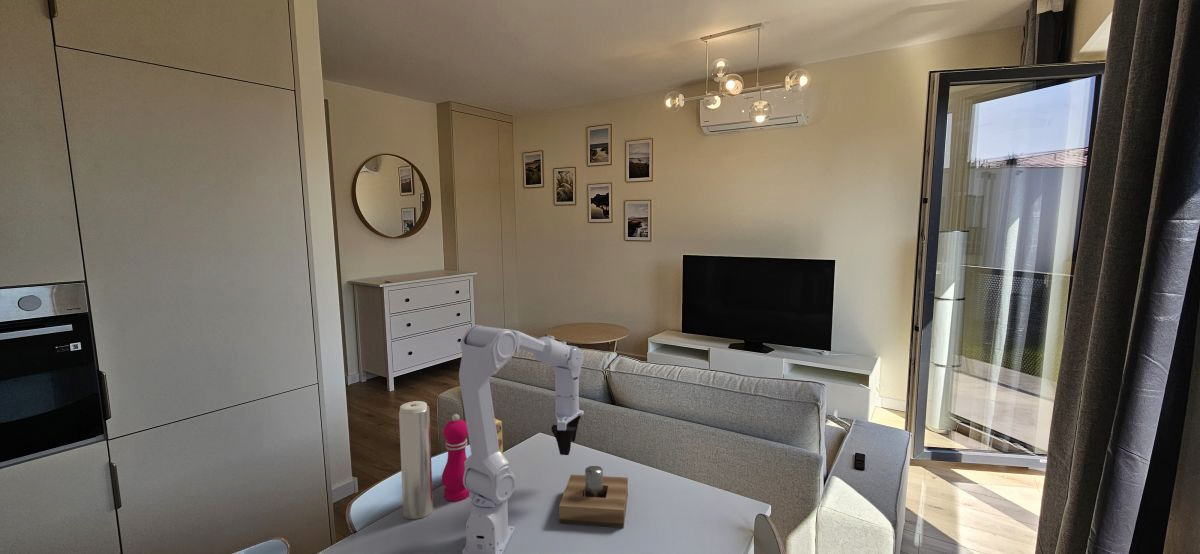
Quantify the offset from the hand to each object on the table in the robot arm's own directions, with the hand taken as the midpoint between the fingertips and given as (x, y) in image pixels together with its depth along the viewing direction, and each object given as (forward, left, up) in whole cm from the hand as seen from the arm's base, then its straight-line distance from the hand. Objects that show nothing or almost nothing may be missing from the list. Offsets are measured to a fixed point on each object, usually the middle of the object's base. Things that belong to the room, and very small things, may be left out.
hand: (567, 447), depth 118 cm
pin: (-8, -8, -9) cm, 14 cm away
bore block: (-8, -8, -10) cm, 15 cm away
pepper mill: (-6, +26, -11) cm, 29 cm away
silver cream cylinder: (-14, +32, -11) cm, 37 cm away
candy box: (+4, +22, -11) cm, 25 cm away
